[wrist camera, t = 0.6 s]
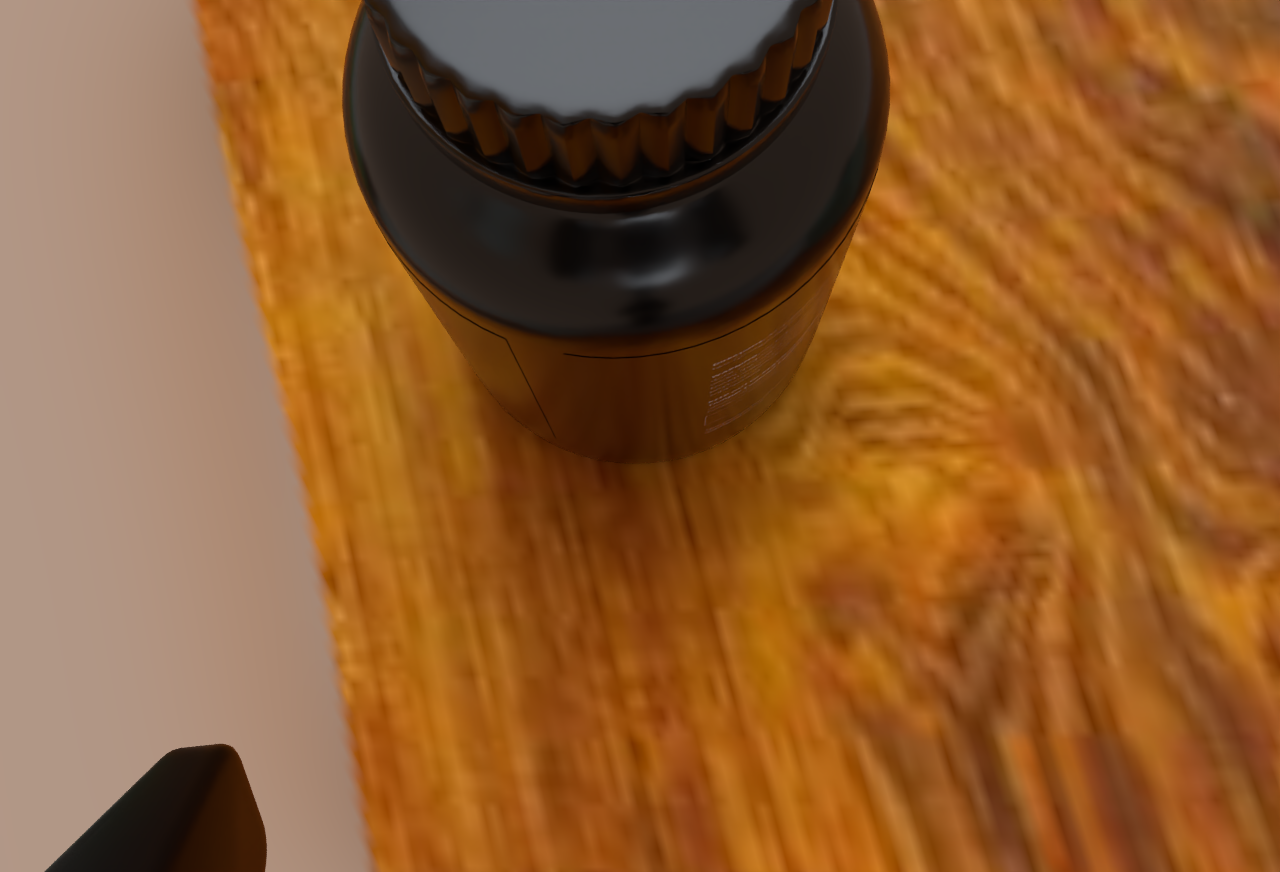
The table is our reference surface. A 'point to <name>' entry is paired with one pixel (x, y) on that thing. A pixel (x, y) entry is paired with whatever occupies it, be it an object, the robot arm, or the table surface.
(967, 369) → the table surface
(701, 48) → the supplement bottle
